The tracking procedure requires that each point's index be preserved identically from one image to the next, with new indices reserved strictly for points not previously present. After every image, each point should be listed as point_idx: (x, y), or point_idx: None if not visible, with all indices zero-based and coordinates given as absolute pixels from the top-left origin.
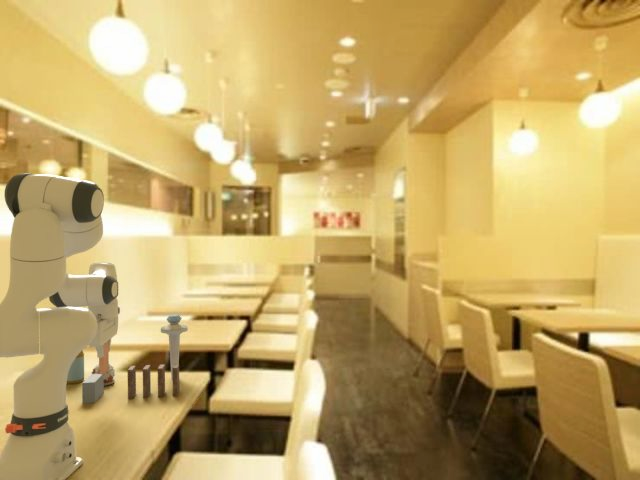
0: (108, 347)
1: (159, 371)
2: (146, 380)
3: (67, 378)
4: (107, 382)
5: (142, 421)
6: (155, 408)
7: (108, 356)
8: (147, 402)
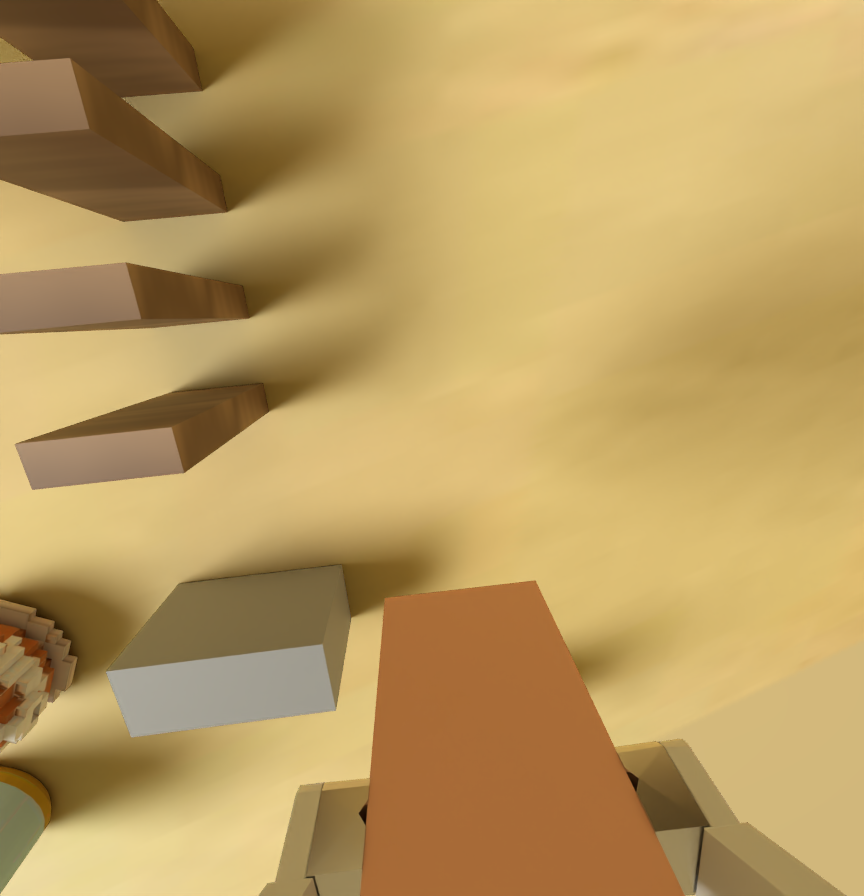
0: (359, 872)
1: (106, 119)
2: (190, 285)
3: (33, 840)
4: (20, 628)
5: (658, 190)
6: (452, 165)
7: (382, 716)
8: (337, 258)
